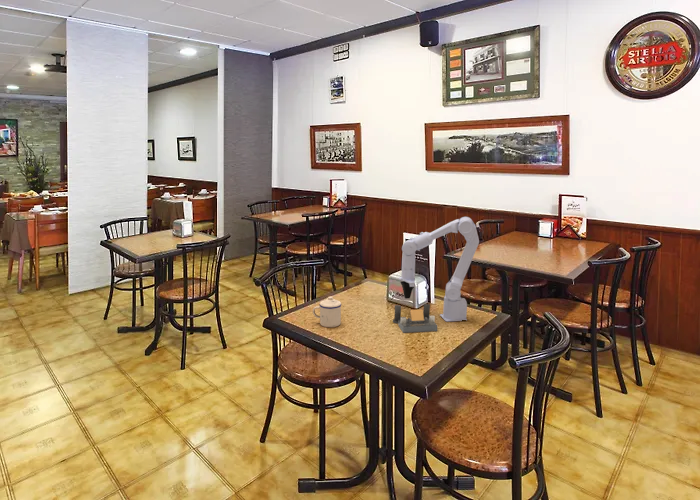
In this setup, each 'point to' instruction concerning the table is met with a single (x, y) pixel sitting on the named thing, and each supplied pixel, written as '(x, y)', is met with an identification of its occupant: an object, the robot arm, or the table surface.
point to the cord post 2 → (426, 310)
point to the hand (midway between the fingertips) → (407, 298)
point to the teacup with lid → (329, 312)
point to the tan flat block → (417, 316)
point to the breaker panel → (417, 325)
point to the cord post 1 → (397, 314)
